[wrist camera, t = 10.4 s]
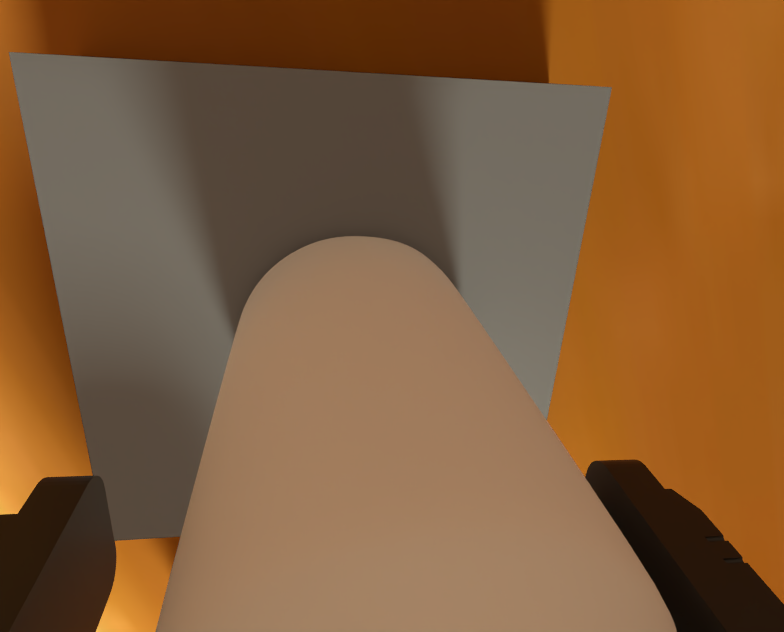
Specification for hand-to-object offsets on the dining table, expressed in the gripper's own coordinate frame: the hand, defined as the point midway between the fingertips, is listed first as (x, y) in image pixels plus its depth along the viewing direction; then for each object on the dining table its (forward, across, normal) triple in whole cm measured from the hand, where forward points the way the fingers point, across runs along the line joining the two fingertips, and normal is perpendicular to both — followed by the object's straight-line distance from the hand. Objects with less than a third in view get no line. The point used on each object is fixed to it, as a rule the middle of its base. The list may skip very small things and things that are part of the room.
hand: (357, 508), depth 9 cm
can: (+7, 0, 0) cm, 7 cm away
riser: (+11, 0, 0) cm, 11 cm away
